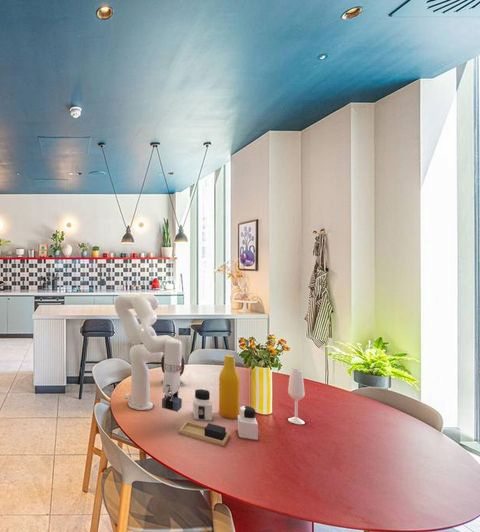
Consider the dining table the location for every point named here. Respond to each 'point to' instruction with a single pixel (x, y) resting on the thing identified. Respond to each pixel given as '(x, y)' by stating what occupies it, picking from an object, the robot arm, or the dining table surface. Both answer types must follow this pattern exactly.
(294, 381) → the champagne flute
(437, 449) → the dining table surface
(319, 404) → the dining table surface
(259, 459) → the dining table surface
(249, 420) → the medicine bottle
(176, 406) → the blue block
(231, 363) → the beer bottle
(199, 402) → the container
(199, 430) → the wooden tray
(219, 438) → the pad
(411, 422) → the dining table surface
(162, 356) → the mate gourd
